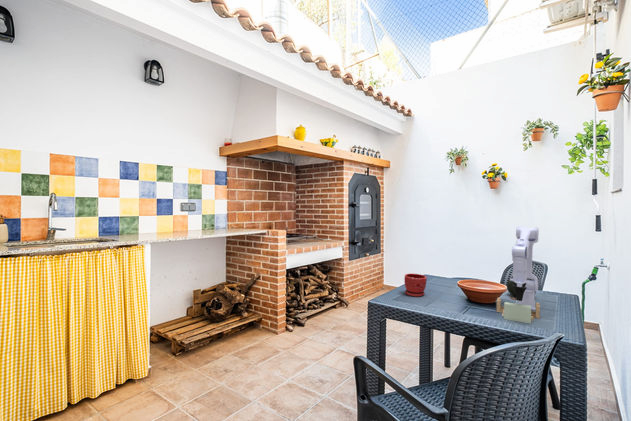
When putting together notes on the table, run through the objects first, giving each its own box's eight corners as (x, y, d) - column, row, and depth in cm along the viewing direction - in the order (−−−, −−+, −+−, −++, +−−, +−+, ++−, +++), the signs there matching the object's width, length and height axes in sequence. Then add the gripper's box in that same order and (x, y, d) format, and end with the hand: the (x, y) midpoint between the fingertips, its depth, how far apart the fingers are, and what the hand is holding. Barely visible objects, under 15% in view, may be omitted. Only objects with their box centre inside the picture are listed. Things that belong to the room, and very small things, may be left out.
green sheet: (504, 316, 163) (504, 301, 163) (530, 321, 157) (531, 305, 157) (504, 319, 160) (504, 304, 160) (530, 323, 154) (531, 307, 154)
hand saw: (482, 291, 214) (482, 289, 214) (487, 290, 216) (487, 289, 216) (514, 301, 191) (514, 300, 191) (520, 300, 193) (520, 299, 193)
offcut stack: (503, 314, 168) (503, 309, 168) (533, 319, 160) (533, 314, 160) (501, 316, 165) (502, 311, 165) (532, 322, 157) (532, 316, 157)
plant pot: (402, 296, 199) (403, 276, 198) (405, 291, 211) (405, 272, 210) (425, 298, 194) (425, 278, 193) (427, 293, 206) (427, 274, 205)
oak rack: (497, 308, 176) (497, 297, 176) (539, 314, 166) (539, 303, 166) (496, 311, 170) (496, 300, 170) (539, 318, 160) (539, 306, 160)
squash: (542, 292, 189) (533, 269, 199) (514, 292, 191) (506, 269, 201) (533, 303, 199) (525, 281, 209) (507, 302, 202) (500, 281, 212)
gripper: (510, 267, 166) (510, 294, 167) (509, 272, 154) (509, 301, 154) (527, 269, 163) (526, 296, 163) (527, 274, 150) (527, 303, 151)
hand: (519, 298), depth 158 cm, fingers open, 7 cm apart
